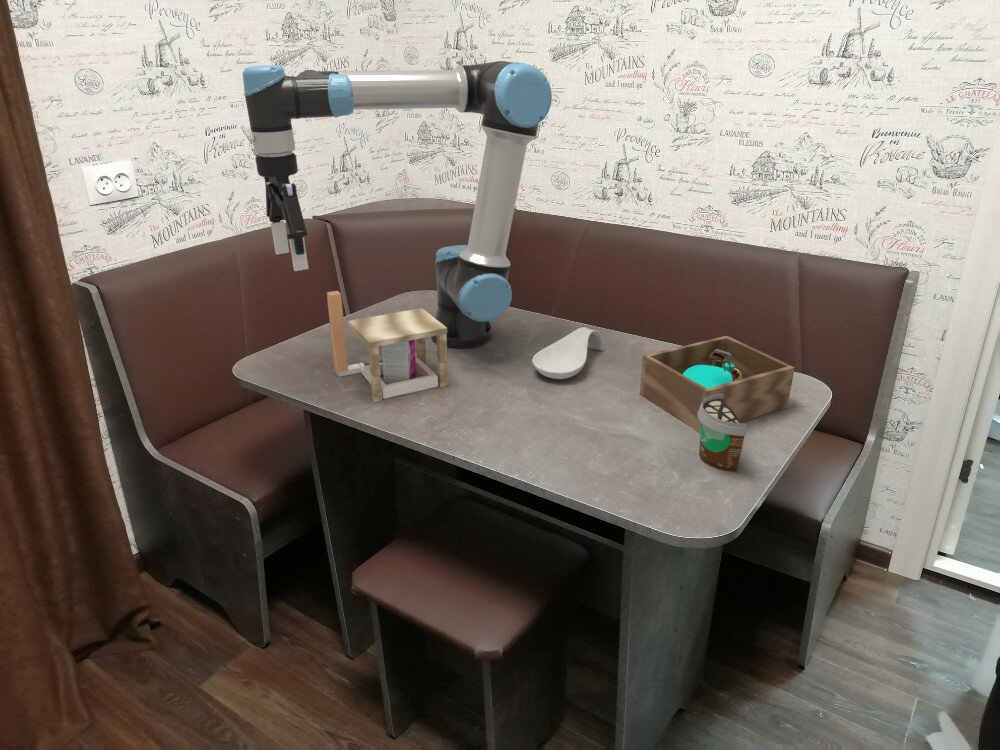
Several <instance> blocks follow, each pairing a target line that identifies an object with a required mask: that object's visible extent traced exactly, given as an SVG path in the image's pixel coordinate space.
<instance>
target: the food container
mask: <svg viewBox="0 0 1000 750" xmlns="http://www.w3.org/2000/svg"><path fill="white" fill-rule="evenodd" d="M697 415H698V418H699V420H700V421H701V427H700V433H699V452H698V453H699V454H698V455H699V459H701V461H702V462H703V463H705V464H706V465H708V466H710V467H712V468H714V469H717V470H722V471H726V472H727V471H728V472H737V471H738V467H739V464H740V460H741V459H740V457H741V454H742V449H743V444H744V441H745V437H747V436H748V435H747V434H748V431H747V430H748V425H747V424H748V423H742V421H741V422H740V421H739V419H738V418H737V416H736V414H735V413H734V411H733V410H732V409H731V408H730V407H729V406H728V405H727V404H726V403H725V402H724V400H723V394H718V395H713V396H710V397H708V398H706V399H705V400H704V401H703V403H702V404H701V405H700V408H699V410H698V414H697Z"/></svg>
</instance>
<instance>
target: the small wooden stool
mask: <svg viewBox="0 0 1000 750" xmlns="http://www.w3.org/2000/svg"><path fill="white" fill-rule="evenodd" d="M348 327H349V328H350V329H351V330H352V332H354V334H355V335H356V336H358V338H359V339H360V340H361V341H362V342H363V344H365V345H366V346H367V349H368V363H369V364H370V376H371V384H370V386H371V387H370V388H371V396H372V399H371V400H372V401H373V402H374V403H380V402H383V398H382V390H381V379H382V378H381V376H382V375H380V363H379V361H380V352H379V347H382V346H384V345H389V344H394V343H399V342H404V341H409V340H415V353H416V356H417V357H418V358H419V359H420V360H421V361H422V362H423V363H424V364H425V365H426V366H427V356H426V355H427V353H426V352H427V351H426V350H427V349H426V348H427V347H426V338H430V337H432V336H435V335H436V338H437V343H436V361H437V364H436V365H437V376H438V386H439V387H440V388H446V387H448V386H449V379H448V377H449V375H448V373H449V372H448V347H447V338H446V333H447V327H445V326H444V325H443V324H441V323H440V322H439V321H438V320H436V319H435V316H432V314H430V313H429V312H428V311H426V310H425V309H424V308H422V307H421V308H414V309H408V310H404V311H403V310H402V311H397V312H391V313H386V314H385V313H384V314H380V315H375V316H369V317H364V318H363V317H362V318H357V319H356V318H355V319H352V320H348Z"/></svg>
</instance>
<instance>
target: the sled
mask: <svg viewBox="0 0 1000 750" xmlns="http://www.w3.org/2000/svg"><path fill="white" fill-rule="evenodd" d="M326 297H327V298H326V299H327V309H328V319H329V326H330V337H331V346H332V347H331V348H332V355H333V356H332V357H333V367H334V374H335V375H336V376H337V377H338V378H340V377H345V376H348V375H349V376H351V375H355V374H362V376H364V379H366V380H367V382H368V383H369V384H370V385H371V376H370V365H367V366H365V364H364V363H363V362H359V363H354V364H348V355H347V344H346V333H345V324H344V323H345V321H344V311H343V302H342V294H341V293H340V292H339V290H333V291H327V292H326ZM415 360H416V374H418V375H420V376H419V377H416V378H415V379H410V380H406V381H401V382H396V383H392V384H387V385H386V384H385V383H384V380H383V379H382V378H381V390H382V400H383V399H388V398H393V397H397V396H398V397H399V396H401V395H402V396H403V395H407V394H411V393H416V392H419V391H424V390H425V391H426V390H429V389H433V388H438V386H439V385H438V374H436V373H435V372H434V371H433V370H432V369H430V367H428V366H427V364H426V365H425V364H424V363H423V362H422V361H421V360H420V359H419V358H418V357H417V355H415ZM380 376H384V374H383V362H382V363H380Z"/></svg>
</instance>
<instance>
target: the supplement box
mask: <svg viewBox="0 0 1000 750" xmlns="http://www.w3.org/2000/svg"><path fill="white" fill-rule="evenodd" d="M381 349H382V361H383V374H384V375H383V382H384V383H385V384H386V385H387V384H392V383H396V382H401V381H406V380H410V379H415V378H417V372H416V360H415V356H416V339H415V340H409V341H404V342H399V343H394V344H389V345H384V346H381Z"/></svg>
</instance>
